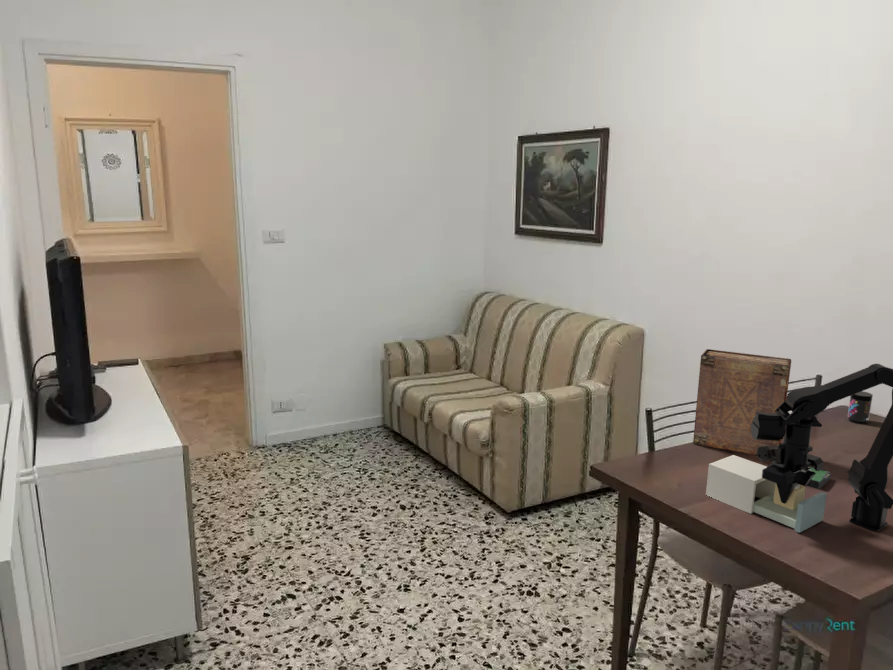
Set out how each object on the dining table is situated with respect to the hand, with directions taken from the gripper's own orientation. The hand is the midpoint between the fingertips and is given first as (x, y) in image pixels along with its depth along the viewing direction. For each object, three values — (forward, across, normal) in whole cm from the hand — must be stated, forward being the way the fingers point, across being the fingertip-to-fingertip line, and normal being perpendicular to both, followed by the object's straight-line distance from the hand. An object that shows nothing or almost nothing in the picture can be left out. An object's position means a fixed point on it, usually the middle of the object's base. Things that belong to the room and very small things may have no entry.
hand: (789, 500), depth 171 cm
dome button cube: (+1, 0, 0) cm, 1 cm away
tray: (+4, 0, -1) cm, 4 cm away
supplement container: (+5, -95, -25) cm, 98 cm away
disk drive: (+6, -28, -12) cm, 31 cm away
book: (+5, -34, -35) cm, 49 cm away
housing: (+5, 0, -13) cm, 14 cm away
